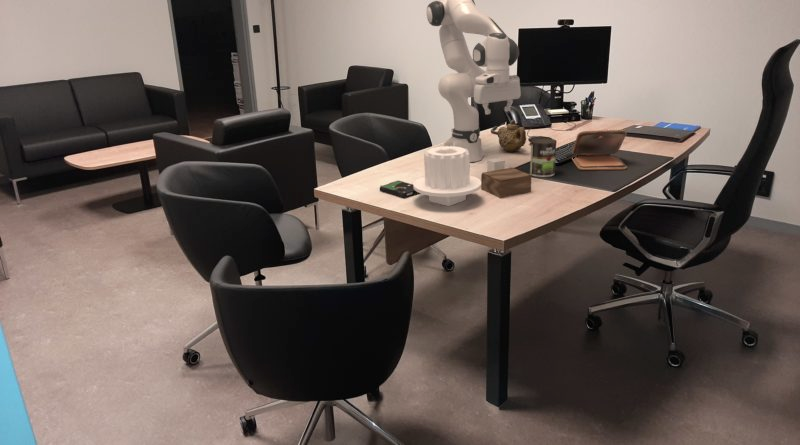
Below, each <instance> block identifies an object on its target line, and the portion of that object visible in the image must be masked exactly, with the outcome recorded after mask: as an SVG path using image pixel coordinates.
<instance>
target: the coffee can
mask: <svg viewBox="0 0 800 445" xmlns="http://www.w3.org/2000/svg"><path fill="white" fill-rule="evenodd" d="M556 152H557V140H556V139H555V138H548V137H538V138H532V139H531V140H530V162H529V164H530V165H529V166H530V167H529V174H530V175H531V177H532V176H533V177H537V178H548V177H549V178H550V177H553V176H555V174H556V154H557V153H556Z"/></svg>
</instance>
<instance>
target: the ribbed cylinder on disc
mask: <svg viewBox="0 0 800 445" xmlns="http://www.w3.org/2000/svg"><path fill="white" fill-rule="evenodd" d="M423 156H424V157H423V158H424V159H423V160H424V161H423V162H424V166H423V167H424V176H422V177H419V178H418V179H416V180H414V182H413V188H414V190H415V191H417V192H418V193H421V195H425V196H428V201H429V202H430V203H435V204H438V205H442V206H446V207H451V206H453V205H457V204H459V203H461V202H464V201H466V200H467V195H470V194H473V193H474V194H475V193H476V192H478V191H479V190H480V189H481V179H479V177H476V176H472V175H470V174H471V173H470V172H471V170H470V166H471V165H470V163H471V162H470V154H469V152H468V150H467V149H464V148H461V147H454V146H444V145H443V146H436V147H430V148H429V149H427V150H425V151H424V153H423Z"/></svg>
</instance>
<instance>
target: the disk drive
mask: <svg viewBox="0 0 800 445" xmlns="http://www.w3.org/2000/svg"><path fill="white" fill-rule="evenodd" d="M379 192H381V193H384V194H388V195H391V196H394V197H397V198H400V199H407V198H408V199H409V198H412V197H414V196H417V195H420V194H421V193H418V192H417V191H415V190H414V188H413V184H412V183H409V182H404V181H403V180H395V181H391V182H389V183H387V184H384V185H380V187H379ZM421 195H422V194H421Z"/></svg>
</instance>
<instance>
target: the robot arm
mask: <svg viewBox="0 0 800 445" xmlns="http://www.w3.org/2000/svg"><path fill="white" fill-rule="evenodd" d="M426 19H427V21H428V23H429V25H431V26H433V27H440V28H439V32H438V33H439V41H440V46H441V49H442V53H443V57H444V60H445V63H446V65H447V67H448V68H450V69H451V70H453V71H455V73H450V74H447V75H444V76H442V77H441V78H440V80H439V82H438V91H439V94H440V97H442V98H443V99H445V100H446V101H447V102H448V104H449V105H450V107H451V109H452V115H453V128H451V132H452V133H451V137H450V138H448V139H447V140H446V141H445V142H444V144H443V147H444V146H454V147H461V148H464V149H467V150H468V152H469V154H470V163H473V162H479V161H481V160H483V158H484V157H485V153H483V148H482V147H483V146H482V139H481V138H480V134H481V132H480V131H481V130H480V126H479V125H480V122H479V121H480V120H479V119H480V118H479V111H478V109H477V108H476V107H475V106H472V105H470V103H469V100H468V98H473V100H474V102H475V104H478V105H482V107H483V109H484V114H485V115H491V114H492V113H491V109H490V108H489V103H491V104H492V103H497V102H502V101H503V102H504V101H506V102H507V103H506V106H504V112H505V113H506V112H507V113H509V112H510V111H511V107H512V104H513V103H514V100H518V99H520V98H521V96H522V95H521V84H520V83H521V82H520V80H521V79H520V77H519V76H518V75H517V74H513V75H510V66H513V65H514V64H515V63H516V61H517V60H518V59H519V56H520V48H519V46H518V44H517V43H516V41H515V40H513V39H512V38H510V37H509V36H508V35H507V34H506V33H505V32H504V30H503V29H502V28H501V27H500V26H499V25H498V24H497V22H496V21H495V20H494V19H492V18H491V17H490V16H488V15H486V14H484V13H483V11H481V10H480V9H479V8H478V7H477V6H476V2H475V1H474V0H434V1H432V2H430V3H429V4H428V5H427V7H426ZM464 33H465V34H473V35H474V34H475V35H480V36H484V37H487V38H486V39H484V40H483V41H481V42H477V43H476V44H475V46H474V47H473V49H472V55H471V52H470V50H469V47H468V44H467V42H466V38H465V35H464ZM482 67H483V68H485V67H486V69H485V70H484V69H483V68H482Z"/></svg>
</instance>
